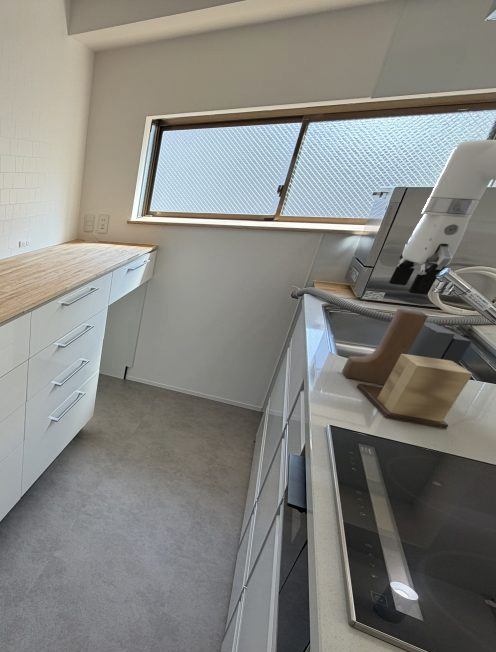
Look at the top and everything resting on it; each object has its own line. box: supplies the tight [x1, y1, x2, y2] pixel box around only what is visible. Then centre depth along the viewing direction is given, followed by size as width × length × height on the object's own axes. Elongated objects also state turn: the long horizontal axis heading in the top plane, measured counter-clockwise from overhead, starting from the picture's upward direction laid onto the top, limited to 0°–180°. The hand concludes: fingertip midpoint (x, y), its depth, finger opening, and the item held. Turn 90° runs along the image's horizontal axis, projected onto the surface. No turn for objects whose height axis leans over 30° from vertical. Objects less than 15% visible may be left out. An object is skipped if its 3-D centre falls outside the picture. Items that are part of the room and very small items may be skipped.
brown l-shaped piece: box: [341, 308, 429, 386], centre depth 100 cm, size 9×4×18 cm, turn 61°
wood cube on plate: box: [356, 354, 473, 430], centre depth 89 cm, size 10×16×12 cm, turn 158°
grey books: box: [408, 321, 473, 365], centre depth 98 cm, size 6×9×15 cm
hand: (406, 288), depth 94 cm, fingers open, 9 cm apart
